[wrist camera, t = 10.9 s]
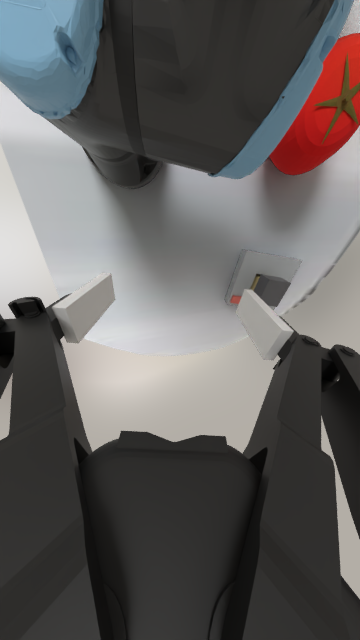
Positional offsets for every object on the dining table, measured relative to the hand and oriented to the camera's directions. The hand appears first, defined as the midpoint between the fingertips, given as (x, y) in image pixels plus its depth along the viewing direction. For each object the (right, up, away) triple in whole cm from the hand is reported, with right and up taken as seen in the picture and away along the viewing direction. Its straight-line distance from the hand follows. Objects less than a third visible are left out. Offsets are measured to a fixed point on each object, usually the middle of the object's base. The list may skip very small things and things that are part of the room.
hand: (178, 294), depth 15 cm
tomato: (+21, +31, +12) cm, 39 cm away
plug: (+22, +8, +26) cm, 35 cm away
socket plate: (+22, +8, +26) cm, 35 cm away
